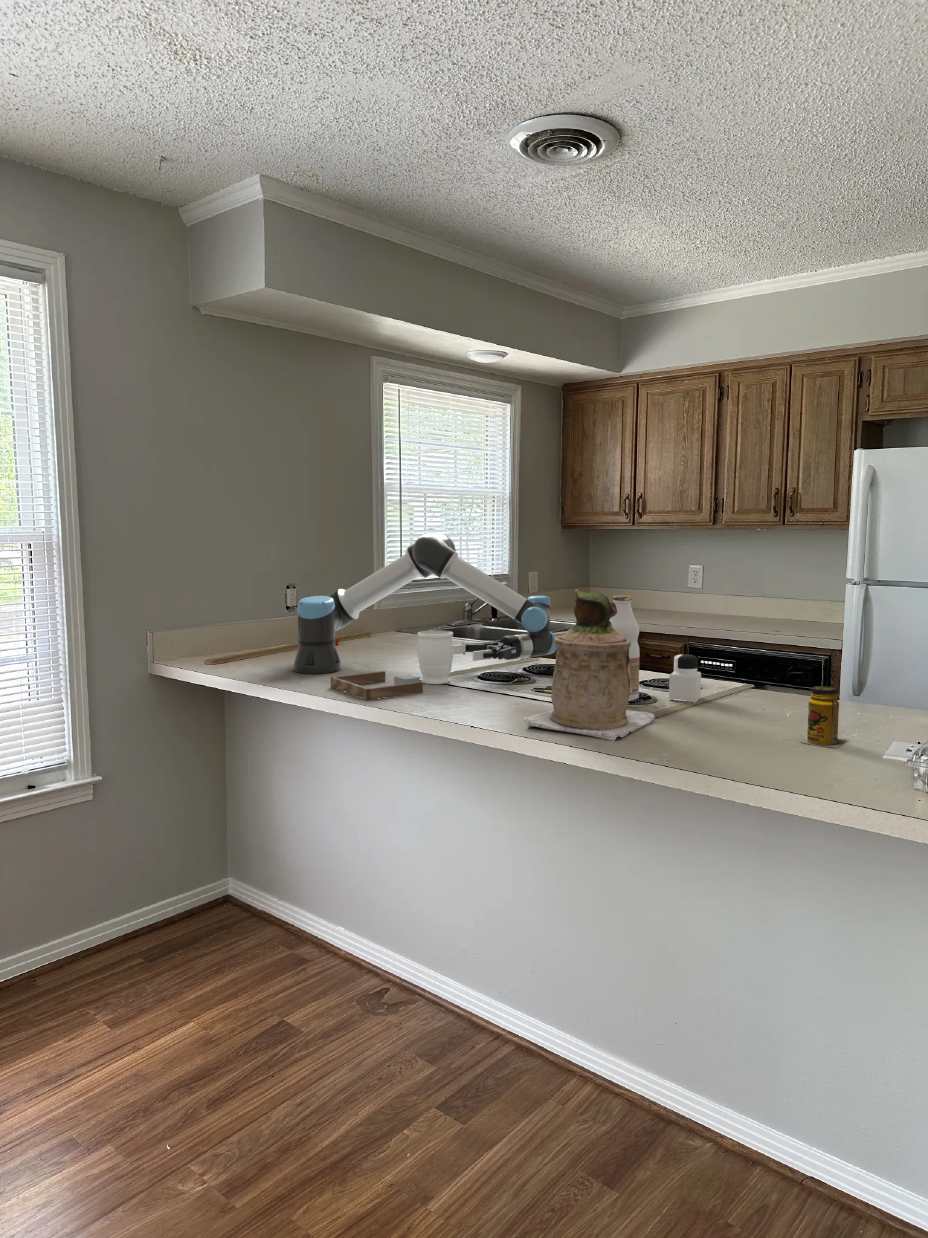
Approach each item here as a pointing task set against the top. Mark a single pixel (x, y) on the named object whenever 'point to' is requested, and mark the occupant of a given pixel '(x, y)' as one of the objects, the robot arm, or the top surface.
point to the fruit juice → (630, 630)
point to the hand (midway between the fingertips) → (460, 653)
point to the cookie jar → (591, 676)
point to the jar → (435, 656)
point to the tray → (351, 681)
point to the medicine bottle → (685, 679)
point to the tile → (405, 679)
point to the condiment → (823, 718)
